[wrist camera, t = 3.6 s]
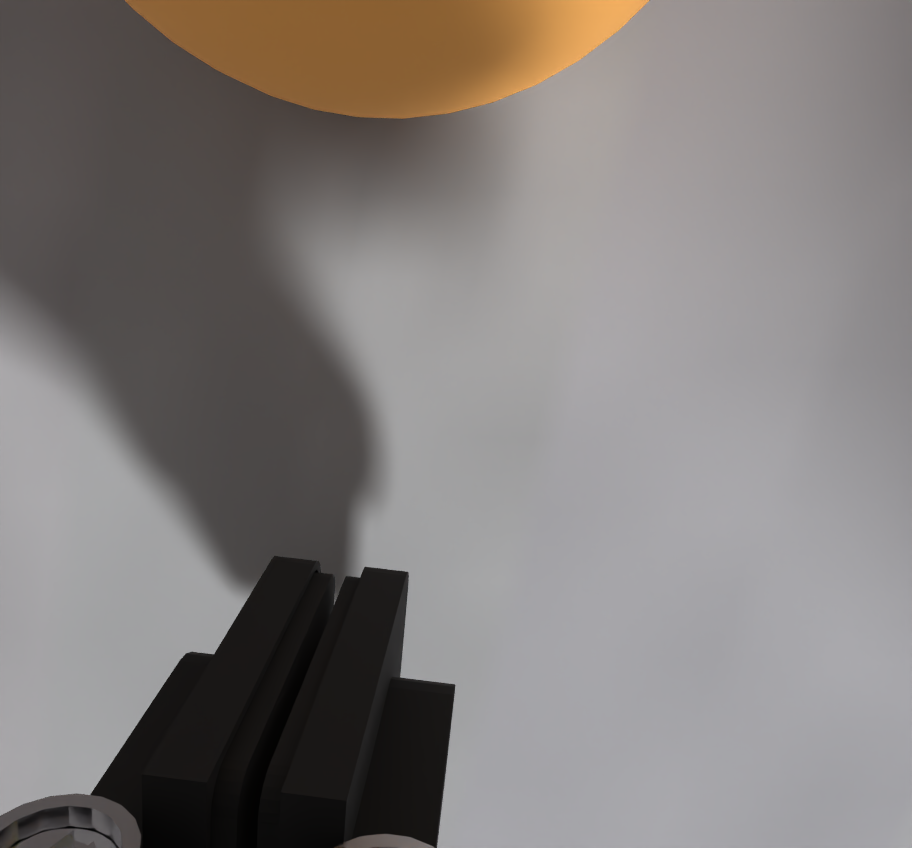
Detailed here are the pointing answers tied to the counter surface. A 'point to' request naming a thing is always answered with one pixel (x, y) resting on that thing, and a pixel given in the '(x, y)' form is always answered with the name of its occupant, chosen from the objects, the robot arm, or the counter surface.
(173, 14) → the ball
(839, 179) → the counter surface
